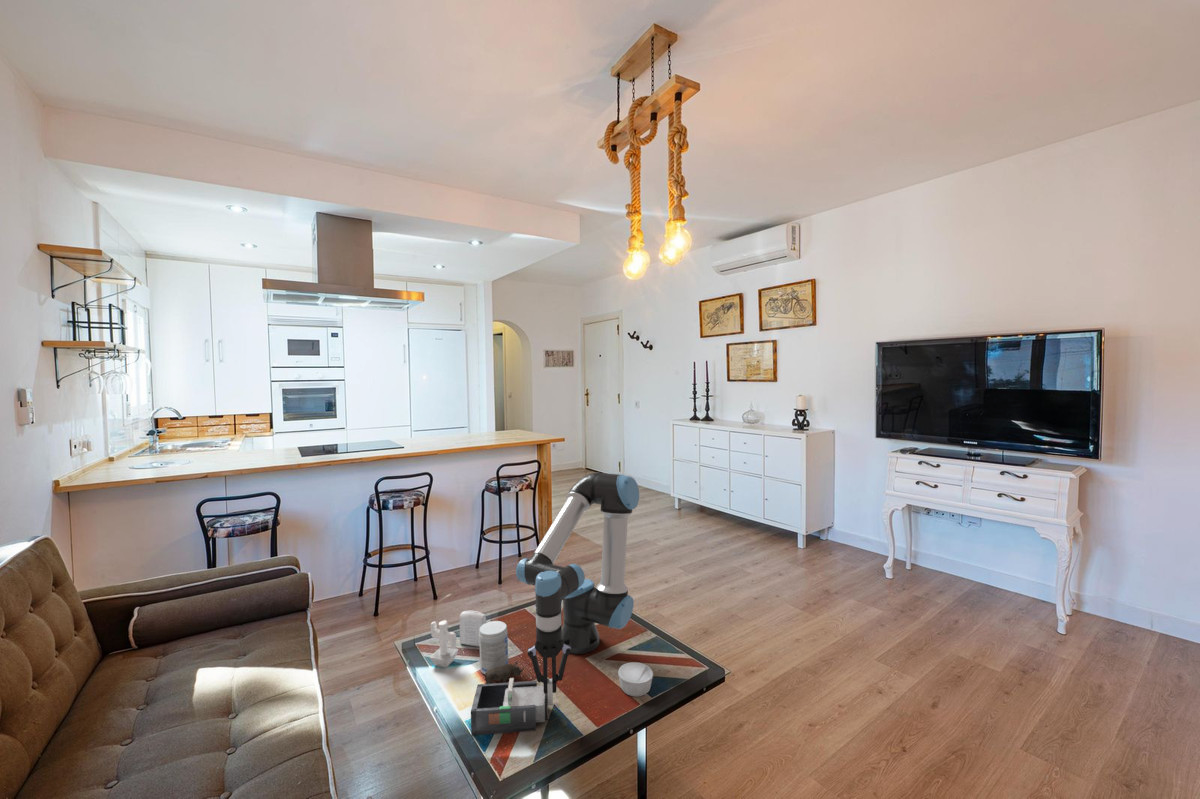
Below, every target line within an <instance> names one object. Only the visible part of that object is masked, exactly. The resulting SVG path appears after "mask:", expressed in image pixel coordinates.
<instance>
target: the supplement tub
mask: <svg viewBox="0 0 1200 799" xmlns="http://www.w3.org/2000/svg"><path fill="white" fill-rule="evenodd" d="M508 640H509V639H508V625H507V624H506V623H505V622H504V621H500V620H492V621H488V622H486V623H485V624H483V625H482V626H481V627H480V629H479V646H478V647H479V661H480V662H479V665H480V666H479V668H480V672H481V673H482V674H483V675H485V673H486V671H487V670H488V669H490V668H497V667H501V666H503V665H506V664H509V641H508Z"/></svg>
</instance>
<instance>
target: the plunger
mask: <svg viewBox="0 0 1200 799" xmlns="http://www.w3.org/2000/svg"><path fill="white" fill-rule="evenodd" d="M508 680H509V681H508V682H509V686H508V688H506V690H505V696H504V702H503V706H524V705H535V720H536V723H546V721H549V706H548V693H545V694H544V685H537V686H528V687H514V682H515V678H514V677H510V678H508Z"/></svg>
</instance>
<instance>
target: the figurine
mask: <svg viewBox="0 0 1200 799" xmlns="http://www.w3.org/2000/svg"><path fill="white" fill-rule="evenodd" d="M437 624H438V627H437ZM430 635H431V636H430V637H432V639H438V640H439V647H438V649H436V651H435V652H433V653H432V654H431V655H430V656H429V657H428V658H429V659H430V661H431V662H432V664H433V665H434V666H435V667H440V668H444V669H446V668H448V667H449V666H451V664H452V663H453V662H454V660H455V658H456V656H457V654H458V652H459V649H460V648H457V634H456V633H455V632H453V631H449V625H448V620H446V619H444V620H443V619H442V620H441V621H439V623H437V621H432V622H431V623H430ZM449 643H450V647H449Z"/></svg>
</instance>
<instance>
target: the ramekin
mask: <svg viewBox="0 0 1200 799" xmlns="http://www.w3.org/2000/svg"><path fill="white" fill-rule="evenodd" d="M617 672H618V673H617V675H618V676H617V677H618V679H619V684H620V689H621V690H622V691H623V692H624V693H625V694H626V695H628V696H631V697H641V696H644V695H646V694H647V693H648V692H650V690H651V686H652V682H653V681H652V680H653V678H654V671H653V670H652V669H651V667H650V666H649V665H647V664H645V663H642V662H635V661H633V662H627V663H624V664H622V665H621V666H620V667H619V669H618V671H617Z"/></svg>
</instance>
